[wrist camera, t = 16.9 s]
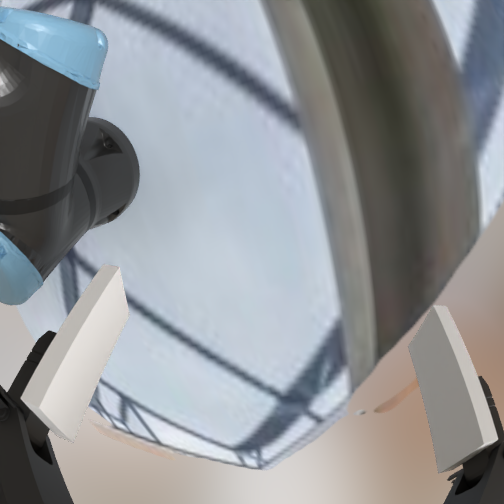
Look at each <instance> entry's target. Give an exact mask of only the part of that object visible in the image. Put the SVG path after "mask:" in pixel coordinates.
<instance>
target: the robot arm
mask: <svg viewBox="0 0 504 504" xmlns="http://www.w3.org/2000/svg"><path fill="white" fill-rule="evenodd" d="M107 51H108V40H107V38H106V36H105V34H104V33H103V32H102V31H101V30H99V29H97V28H95V27H92V26H89V25H86V24H83V23H79V22H76V21H72V20H68V19H65V18H60V17H56V16H52V15H48V14H44V13H39V12H34V11H29V10H23V9H16V8H9V7H2V6H0V302H1V303H4V304H7V305H20V304H23V303H24V302H26V301H27V300H28V299H29V298H30V297H31V296H32V295H33V294H34V293H35V292H36V291H37V290H38V289H39V288H40V287H41V286H42V285H43V282H44V281H45V279H46V278H47V277H48V276H49V274H50V273H51V272H52V271H53V270H54V268H55V267H56V266H57V265H58V264H59V262H60V261H61V260H62V259H63V258H64V256H65V255H66V254H67V253H68V252H69V251H70V250H71V248H72V247H73V246H74V245H75V244H76V243H77V242H78V241H79V239H80V238H81V237H82V236H83V235H84V234H85V233H86V232H87V231H88V230H90V229H93V228H95V227H98V226H100V225H103V224H106V223H108V222H111V221H113V220H114V219H116V218H117V217H119V216H120V215H121V214H122V213H123V212H124V211H125V210H126V209H127V207H128V206H129V205H130V204H131V203H132V201H133V199H134V198H135V195H136V193H137V190H138V186H139V177H140V173H139V164H138V159H137V156H136V153H135V151H134V148H133V146H132V144H131V143H130V141H129V140H128V138H127V137H126V136H125V134H124V133H123V132H122V131H121V130H120V129H119V128H118V127H116V126H115V125H113V124H112V123H110V122H108V121H106V120H103V119H100V118H94V117H89V113H90V110H91V106H92V103H93V100H94V96H95V93H96V90H98V89H99V87H100V83H99V79H100V75H101V71H102V67H103V64H104V61H105V58H106V54H107ZM129 316H130V314H129V309H128V305H127V301H126V296H125V292H124V287H123V282H122V277H121V272H120V267H117V266H111V265H105V264H103V266H102V267H101V268H100V270H99V271H98V273H97V274H96V275H95V277H94V278H93V280H92V281H91V282H90V284H89V285H88V287H87V288H86V290H85V291H84V293H83V294H82V295H81V297H80V298H79V300H78V301H77V303H76V304H75V306H74V307H73V309H72V310H71V312H70V314H69V315H68V317H67V318H66V320H65V321H64V323H63V324H62V326H61V328H60V329H59V331H58V333H55V332H52V331H47V332H46V333H45V334H44V335H43V336H41V337H40V338H39V339H38V341H37V342H36V344H35V346H34V347H33V349H32V352H30V354H29V355H28V357H27V360H26V361H25V362H24V364H23V366H22V367H21V369H20V371H19V373H18V374H17V376H16V378H15V380H14V382H13V383H12V385H11V387H10V389H9V391H8V392H6V391H5V390H4V389H3V388H2V386H1V385H0V504H74V503H73V501H72V498H71V496H70V494H69V491H68V489H67V487H66V484H65V482H64V479H63V476H62V474H61V471H60V468H59V466H58V463H57V460H56V458H55V454H54V451H53V448H52V445H51V442H50V439H49V437H48V432H49V430H51V431H52V432H53V433H54V434H55V435H56V436H58V437H61V438H63V439H65V440H67V441H70V442H72V443H74V440H75V438H76V435H77V432H78V430H79V427H80V425H81V422H82V420H83V417H84V415H85V412H86V410H87V408H88V405H89V403H90V400H91V398H92V396H93V393H94V391H95V389H96V386H97V384H98V382H99V379H100V377H101V375H102V373H103V370H104V368H105V366H106V364H107V362H108V359H109V357H110V355H111V353H112V351H113V349H114V347H115V344H116V342H117V340H118V338H119V336H120V334H121V332H122V330H123V328H124V326H125V324H126V322H127V320H128V318H129ZM408 348H409V352H410V355H411V358H412V361H413V365H414V368H415V372H416V375H417V379H418V383H419V386H420V390H421V394H422V397H423V402H424V406H425V410H426V414H427V418H428V423H429V427H430V432H431V436H432V441H433V446H434V451H435V457H436V462H437V468H438V473H442V472H446V471H450V470H453V469H454V468H456V467H458V466H460V465H461V464H463V469H461V470H459V471H458V472H456V473H454V474H453V475H451V476H450V477H449V478H448V481H450V480H452V479H454V478H455V477H456V479H455V480H453V481H452V483H453V486H452V488H451V490H450V492H449V494H448V496H447V498H446V500H445V502H444V504H504V431H503V427H502V424H501V421H500V418H499V414H498V411H497V408H496V407H495V403H494V400H493V398H492V394H491V392H490V389H489V386H488V384H487V383H486V382H485V380H484V379H483V378H482V376H477V374H476V371H475V369H474V366H473V363H472V361H471V359H470V356H469V354H468V351H467V349H466V347H465V345H464V342H463V340H462V338H461V335H460V333H459V331H458V329H457V327H456V325H455V323H454V320H453V318H452V316H451V314H450V313H449V310H448V308H447V306H438V305H433V307H432V309H431V310H430V312H429V314H428V315H427V317H426V319H425V321H424V322H423V324H422V325H421V327H420V329H419V330H418V332H417V333H416V335H415V337H414V338H413V340H412V341H411V343H410V344H409V346H408Z"/></svg>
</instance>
